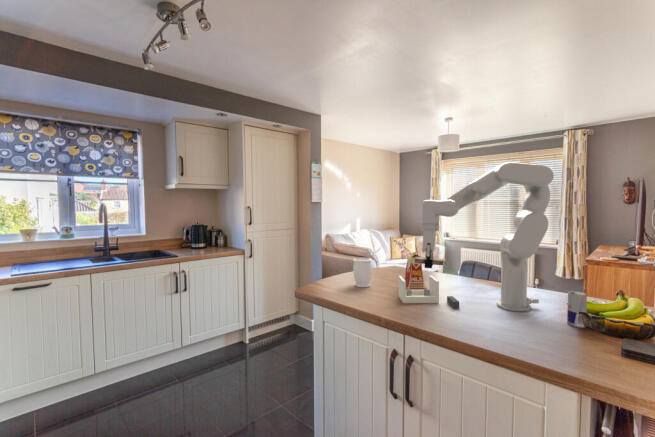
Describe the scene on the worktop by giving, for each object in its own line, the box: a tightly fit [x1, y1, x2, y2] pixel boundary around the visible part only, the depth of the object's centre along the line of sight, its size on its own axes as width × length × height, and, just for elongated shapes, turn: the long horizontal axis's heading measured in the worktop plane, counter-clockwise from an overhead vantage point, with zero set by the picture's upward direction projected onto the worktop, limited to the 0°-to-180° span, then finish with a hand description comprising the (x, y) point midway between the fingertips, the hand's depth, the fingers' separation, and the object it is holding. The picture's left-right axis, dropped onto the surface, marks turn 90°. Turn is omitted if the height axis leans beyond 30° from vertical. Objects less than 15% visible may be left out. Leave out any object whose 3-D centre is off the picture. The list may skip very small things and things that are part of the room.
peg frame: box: [397, 275, 440, 304], centre depth 145 cm, size 16×11×10 cm
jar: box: [352, 256, 373, 288], centre depth 171 cm, size 11×10×15 cm
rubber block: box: [446, 295, 460, 310], centre depth 136 cm, size 2×8×3 cm, turn 178°
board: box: [415, 256, 445, 266], centre depth 141 cm, size 12×6×2 cm, turn 67°
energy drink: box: [566, 290, 588, 329], centre depth 112 cm, size 5×5×12 cm
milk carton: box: [404, 251, 426, 290], centre depth 164 cm, size 9×9×20 cm
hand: (428, 266), depth 141 cm, fingers closed on board, 5 cm apart
